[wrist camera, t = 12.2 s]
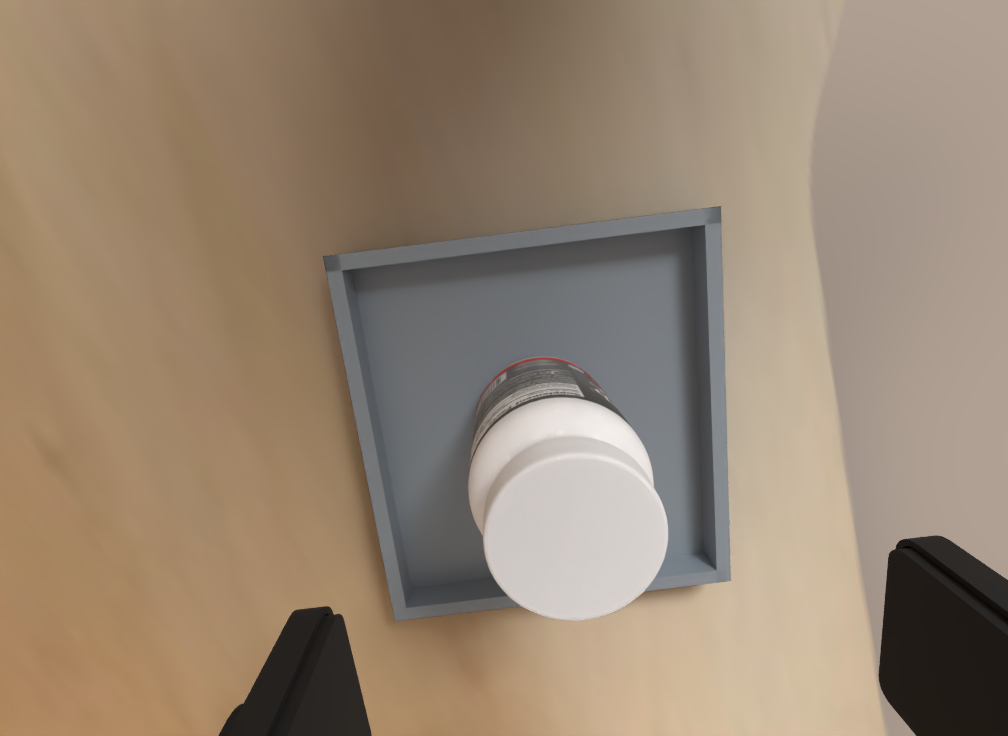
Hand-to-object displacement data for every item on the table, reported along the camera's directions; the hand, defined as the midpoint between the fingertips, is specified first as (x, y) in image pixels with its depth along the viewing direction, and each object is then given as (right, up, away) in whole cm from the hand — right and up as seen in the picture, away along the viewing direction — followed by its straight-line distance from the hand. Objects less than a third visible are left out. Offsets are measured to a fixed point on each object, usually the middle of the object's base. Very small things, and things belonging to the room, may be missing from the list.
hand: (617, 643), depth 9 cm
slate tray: (0, +3, +14) cm, 15 cm away
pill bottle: (0, +3, +14) cm, 14 cm away
